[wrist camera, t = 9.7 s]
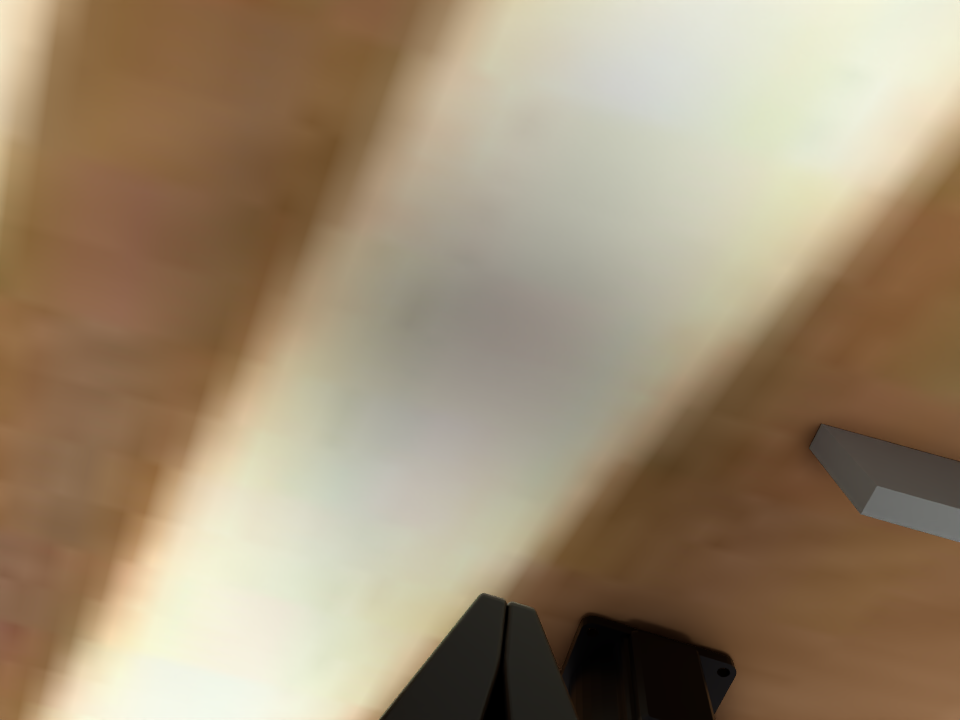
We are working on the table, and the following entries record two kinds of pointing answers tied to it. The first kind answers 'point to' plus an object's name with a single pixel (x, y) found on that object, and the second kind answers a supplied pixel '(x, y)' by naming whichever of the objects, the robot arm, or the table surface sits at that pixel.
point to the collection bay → (893, 481)
